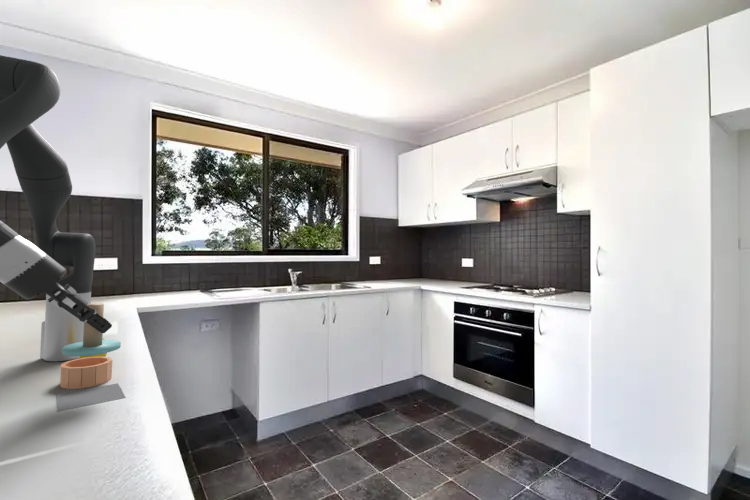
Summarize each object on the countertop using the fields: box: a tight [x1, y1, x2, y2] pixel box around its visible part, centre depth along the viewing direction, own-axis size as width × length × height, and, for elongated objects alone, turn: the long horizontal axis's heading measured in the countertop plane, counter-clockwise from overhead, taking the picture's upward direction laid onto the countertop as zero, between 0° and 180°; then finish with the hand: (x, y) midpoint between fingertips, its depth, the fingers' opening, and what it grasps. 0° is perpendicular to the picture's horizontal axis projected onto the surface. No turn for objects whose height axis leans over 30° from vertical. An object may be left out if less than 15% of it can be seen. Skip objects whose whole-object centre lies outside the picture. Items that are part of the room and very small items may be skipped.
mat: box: [55, 383, 126, 413], centre depth 70 cm, size 10×10×1 cm
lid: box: [62, 302, 122, 356], centre depth 71 cm, size 9×9×9 cm
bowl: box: [59, 356, 113, 390], centre depth 78 cm, size 9×9×4 cm
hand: (106, 327), depth 72 cm, fingers closed on lid, 3 cm apart
